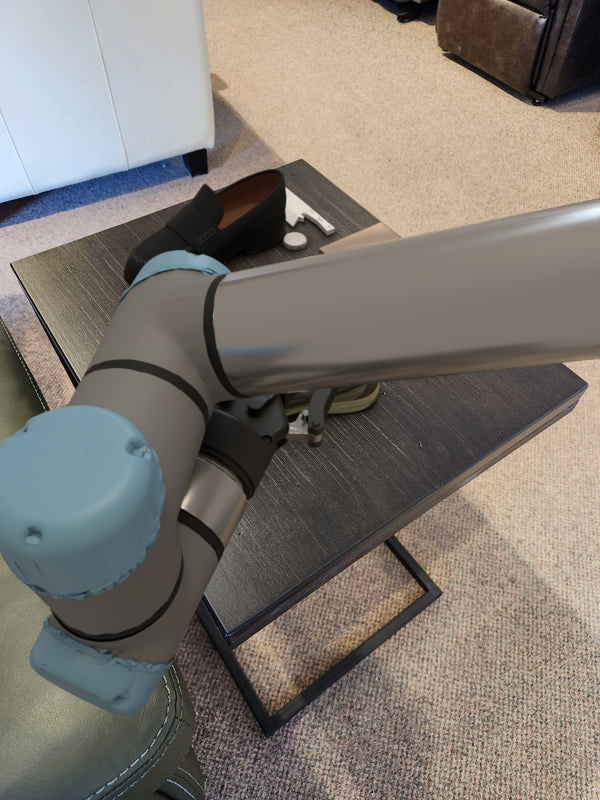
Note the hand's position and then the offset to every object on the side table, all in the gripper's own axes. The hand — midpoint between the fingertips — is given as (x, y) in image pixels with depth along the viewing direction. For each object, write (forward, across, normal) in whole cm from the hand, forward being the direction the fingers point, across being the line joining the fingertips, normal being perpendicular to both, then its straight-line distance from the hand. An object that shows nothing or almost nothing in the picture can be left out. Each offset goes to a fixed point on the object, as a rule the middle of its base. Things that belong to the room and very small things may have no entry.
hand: (315, 283), depth 57 cm
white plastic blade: (+40, -17, -22) cm, 48 cm away
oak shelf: (+26, +4, -22) cm, 34 cm away
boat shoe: (+2, -4, -22) cm, 22 cm away
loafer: (+23, -25, -22) cm, 40 cm away
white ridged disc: (+33, -15, -22) cm, 42 cm away
